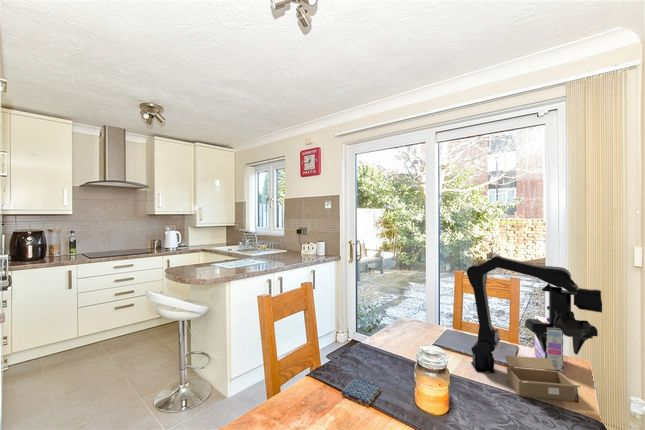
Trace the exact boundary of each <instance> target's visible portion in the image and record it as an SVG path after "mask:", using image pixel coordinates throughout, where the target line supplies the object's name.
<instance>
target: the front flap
mask: <svg viewBox="0 0 645 430" xmlns="http://www.w3.org/2000/svg"><path fill="white" fill-rule="evenodd" d="M522 382H523V383H531V384H542V385H553V386H564V387H575V388H581V385H578V384H574V385H570V384H558V383H547V382H536V381H522Z"/></svg>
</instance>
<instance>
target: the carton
mask: <svg viewBox="0 0 645 430" xmlns="http://www.w3.org/2000/svg"><path fill="white" fill-rule="evenodd" d="M506 381H507V383H508V384H509V385H510V386H511V388H512V389H513V391H514V392H515V393H516V394H517V397H519V398H520V397H522V398H532V399H541V400H542V399H544V400H552V401H553V400H554V401H564V402H572V403H574V402H573V401H575V402H576V387H564V386H553V385H542V384H531V383H523V382H522V381H536V382H547V383H558V384H570V385H575V383H573V382H572V381H571V379H569V378H567V376H565V375H564V374H563V372H560V371H554V370H544V369H532V368H519V367H509V366H507V367H506Z"/></svg>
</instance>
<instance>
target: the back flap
mask: <svg viewBox="0 0 645 430" xmlns="http://www.w3.org/2000/svg"><path fill="white" fill-rule="evenodd" d="M504 358H505V360H506V363H507V367H513V368H526V369H538V370H550V371H554V370H555V369H554V367H553V365H552V363H551V361H550V359H547V358H537V357H532V356H517V355H504Z"/></svg>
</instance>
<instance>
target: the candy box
mask: <svg viewBox="0 0 645 430" xmlns="http://www.w3.org/2000/svg"><path fill="white" fill-rule="evenodd" d="M547 318H549V316H542V315H539V316H538V315H534V318H533V319H538V320H540V321H541V322H543V323H549V322H548V321H547ZM545 333H546V334H547V337H546V352H544V351H543V350H542V347H541V345H540V343H539V341H538V339H537V337H536V335H535V334H534V355H535V358H547V359H550V361H551V363H552V365H553V367H554V369H555V370H553V371H558V372H561V373H564V334H563V332H562V331H561V330H552V329H547V331H546V332H545Z"/></svg>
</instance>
